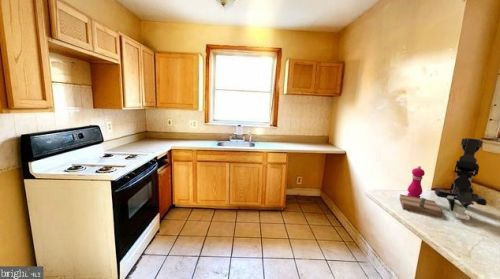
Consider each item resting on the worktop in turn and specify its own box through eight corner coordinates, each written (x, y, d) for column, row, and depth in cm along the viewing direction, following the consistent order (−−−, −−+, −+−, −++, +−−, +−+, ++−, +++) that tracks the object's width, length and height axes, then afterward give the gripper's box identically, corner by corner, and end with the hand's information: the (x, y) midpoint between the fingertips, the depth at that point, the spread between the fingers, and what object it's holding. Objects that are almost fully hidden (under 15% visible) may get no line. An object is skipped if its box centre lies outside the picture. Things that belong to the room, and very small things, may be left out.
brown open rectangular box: (399, 199, 129) (401, 187, 127) (433, 205, 121) (436, 193, 120) (402, 209, 116) (405, 196, 115) (440, 217, 109) (443, 203, 108)
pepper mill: (403, 195, 134) (408, 164, 130) (411, 194, 136) (417, 163, 133) (415, 200, 127) (421, 168, 124) (423, 199, 129) (430, 167, 126)
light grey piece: (446, 208, 119) (449, 198, 118) (457, 210, 117) (459, 200, 116) (456, 221, 106) (458, 210, 105) (468, 223, 104) (471, 212, 103)
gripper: (443, 184, 108) (437, 213, 110) (496, 193, 99) (488, 224, 102) (437, 178, 117) (431, 204, 120) (484, 185, 109) (477, 214, 112)
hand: (455, 211), depth 113 cm, fingers closed on light grey piece, 3 cm apart
